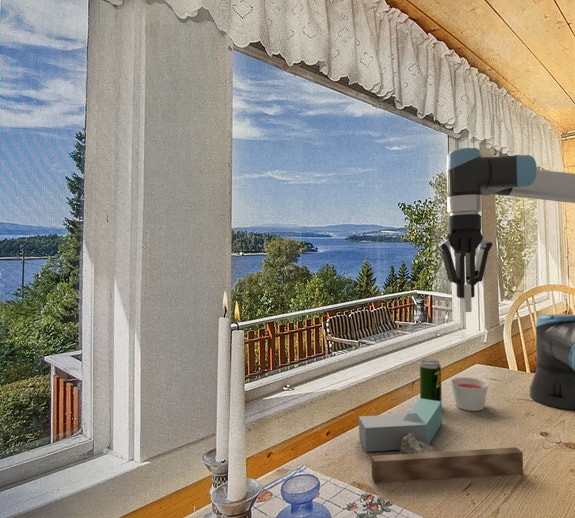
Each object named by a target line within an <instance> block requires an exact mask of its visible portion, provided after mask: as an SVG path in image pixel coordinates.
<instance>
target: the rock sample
mask: <svg viewBox="0 0 575 518" xmlns="http://www.w3.org/2000/svg"><path fill="white" fill-rule="evenodd" d="M430 452H439V451H438V450H436V447H434V446H431V445H430V444H429V445H428V444H426V443H425V442H424V441H421V440H419V439H417V438H416V436H415V435H414V434H413V433H410V434H408V435H407V436H404V438H403V440H402V444H401V448H400V450H399V454H414V453H430Z"/></svg>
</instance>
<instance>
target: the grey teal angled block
mask: <svg viewBox="0 0 575 518" xmlns="http://www.w3.org/2000/svg"><path fill="white" fill-rule="evenodd" d="M442 407H443V402H441V401H434V400H428V399H422V398H420V397H419V398H418V400H417V402H416V403H415V404H414V405H413V406H412V408H411V409H410V411H408V413H398V414H397V413H396V414H383V415H382V414H381V415H362V416H361V415H359V416H358V433H359V434H358V435H359V436H358V437H359V441H360V442H361V445H362V446H363V448H364V450H365V452H383V451H384V452H385V451H398V450H399V451H400V448H401V444H402V440H403V438H404V436H407V435H408V434H410V433H413V434H414V435H415V436H416V438H417V439H419V440H421V441H424V442H425V443H426V444H428V445H430V444H431V441H432V440H433V439H434V437H435V435H436V434H437V432H438V430H439V428H440V426H441V425H442V424H443V408H442Z"/></svg>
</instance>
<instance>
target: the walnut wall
mask: <svg viewBox="0 0 575 518" xmlns="http://www.w3.org/2000/svg"><path fill="white" fill-rule="evenodd" d="M523 454H524V452H523V451H522V450H520V448H518V447H517V446H515V447H500V448H497V447H496V448H487V449H486V448H485V449H484V448H483V449H469V450H450V451H449V450H448V451H438V452H430V453H414V454H400V453H399V454H385V455H372V456H371V478H372V480H373V482H374V484H381V483H394V482H395V483H396V482H397V483H398V482H411V481H413V482H414V481H426V480H427V481H428V480H440V479H441V480H442V479H455V478H456V479H458V478H474V477H475V478H476V477H487V476H503V475H505V476H507V475H517V474H520V475H521V474H524V461H523V460H524V455H523Z"/></svg>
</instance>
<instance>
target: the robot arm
mask: <svg viewBox="0 0 575 518" xmlns="http://www.w3.org/2000/svg"><path fill="white" fill-rule="evenodd" d="M537 168H538V167H537V162H536V159H535V158H534V157H533V156H532V155H531V154H530V155H529V154H528V155H527V154H516V155H514V154H513V155H502V156H501V155H500V156H499V155H498V156H482V154H481V150H480V149H479V148H477V147H463V148H458V149H457V148H456V149H453V150H451V151H450V152H449V153H448V154H447V156H446V171H445V172H446V184H447V185H446V189H447V214H449V216H448V217H447V232H448V234H447V235H446V239H445V240H444V241H443V242H442V243H438V244H437V249H438V250H439V252H440V253H441V256H442V259H443V263H444V267H445V271H446V276H447V279H448V282H450V283H454V284H455V285H456V297H457V298H459V302H460V303H459V304H460V306H459V307H460V308H459V311H460V312H465V313H472V310H473V309H472V298H473V299H474V298H475V296H476V295H475V285H477V283H479V282H480V283H481V282H482V281H483V279H484V273H485V271H486V264H487V261H488V256H489V252H490V250H491V248H492V247H493V242H491V241H487V240H485V239H484V238H483V237H484V236H483V234H482V232H481V231H482V215H481V214H479V213H481V211H482V199H481V198H482V196H491V195H492V196H493V195H494V196H504V197H505V196H506V197H515V198H517V197H518V198H524V199H525V198H526V199H532V200H533V199H534V200H545V201H551V202H552V201H554V202H562V203H569V204H570V203H571V204H575V173H574V172H564V171H563V172H562V171H553V170H552V171H551V170H544V169H543V170H542V169H537ZM478 247H479V249H478ZM450 248H452V250H453V254H454V255H453V256H454V260H453V256H452V253H451V250H450ZM477 249H478V253H477ZM476 256H477V257H476ZM454 262H455V265H454ZM535 334H536V335H535V337H536V338H535V341H536V342H535V343H536V369H535V373H534V375H533V378H532V380H531V384H530V386H529V397H530V398H531V399H532V400H534V401H535V402H537V403H539V404H543V405H544V406H549V407H552V408H557V409H563V410H569V411H570V410H572V411H573V410H574V411H575V314H565V313H564V314H559V313H557V314H553V313H552V314H541V315H538V316H537V318H536V323H535Z"/></svg>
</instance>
